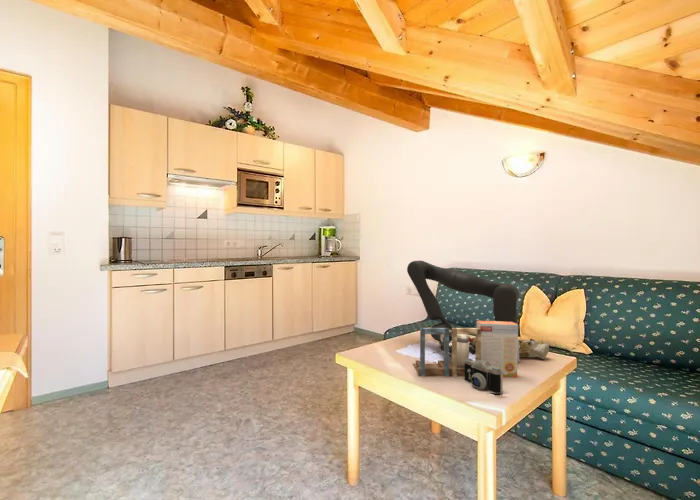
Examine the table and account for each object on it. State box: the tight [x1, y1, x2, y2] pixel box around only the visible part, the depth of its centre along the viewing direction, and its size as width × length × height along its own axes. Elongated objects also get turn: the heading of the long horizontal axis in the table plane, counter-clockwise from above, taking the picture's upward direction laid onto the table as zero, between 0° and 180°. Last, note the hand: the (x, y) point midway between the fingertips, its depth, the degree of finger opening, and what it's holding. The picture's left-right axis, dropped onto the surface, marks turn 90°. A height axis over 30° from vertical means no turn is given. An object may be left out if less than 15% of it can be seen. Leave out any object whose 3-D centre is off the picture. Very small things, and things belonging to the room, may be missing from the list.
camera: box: [464, 357, 504, 397], centre depth 120 cm, size 15×7×10 cm, turn 32°
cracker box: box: [476, 320, 519, 378], centre depth 131 cm, size 14×6×21 cm, turn 85°
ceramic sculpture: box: [519, 338, 550, 360], centre depth 153 cm, size 11×9×15 cm
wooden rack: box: [412, 327, 481, 378], centre depth 135 cm, size 24×14×19 cm, turn 90°
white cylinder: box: [457, 334, 470, 368], centre depth 134 cm, size 5×5×14 cm
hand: (463, 352), depth 132 cm, fingers open, 7 cm apart
